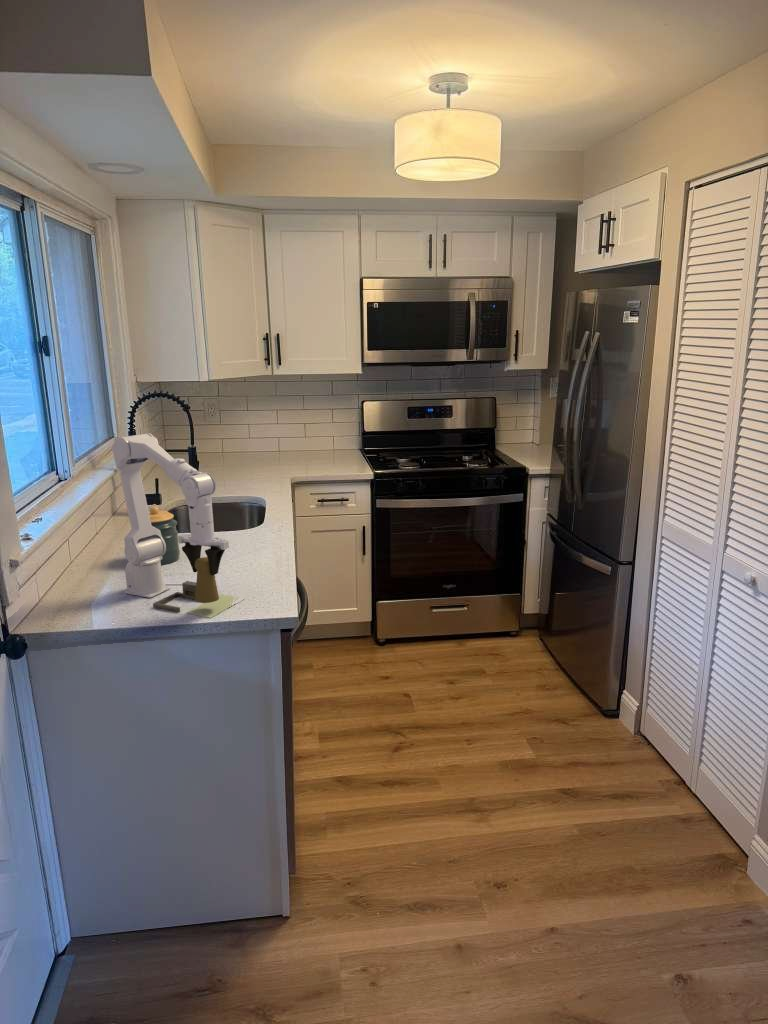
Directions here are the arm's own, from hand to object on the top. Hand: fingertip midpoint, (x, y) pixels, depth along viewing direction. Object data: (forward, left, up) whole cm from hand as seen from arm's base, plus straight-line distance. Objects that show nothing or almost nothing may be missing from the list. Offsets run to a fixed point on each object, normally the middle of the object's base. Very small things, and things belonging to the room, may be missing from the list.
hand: (205, 572), depth 174 cm
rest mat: (0, +3, -10) cm, 11 cm away
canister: (-42, +27, -11) cm, 51 cm away
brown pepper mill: (0, -1, -7) cm, 7 cm away
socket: (-10, +3, -10) cm, 15 cm away
